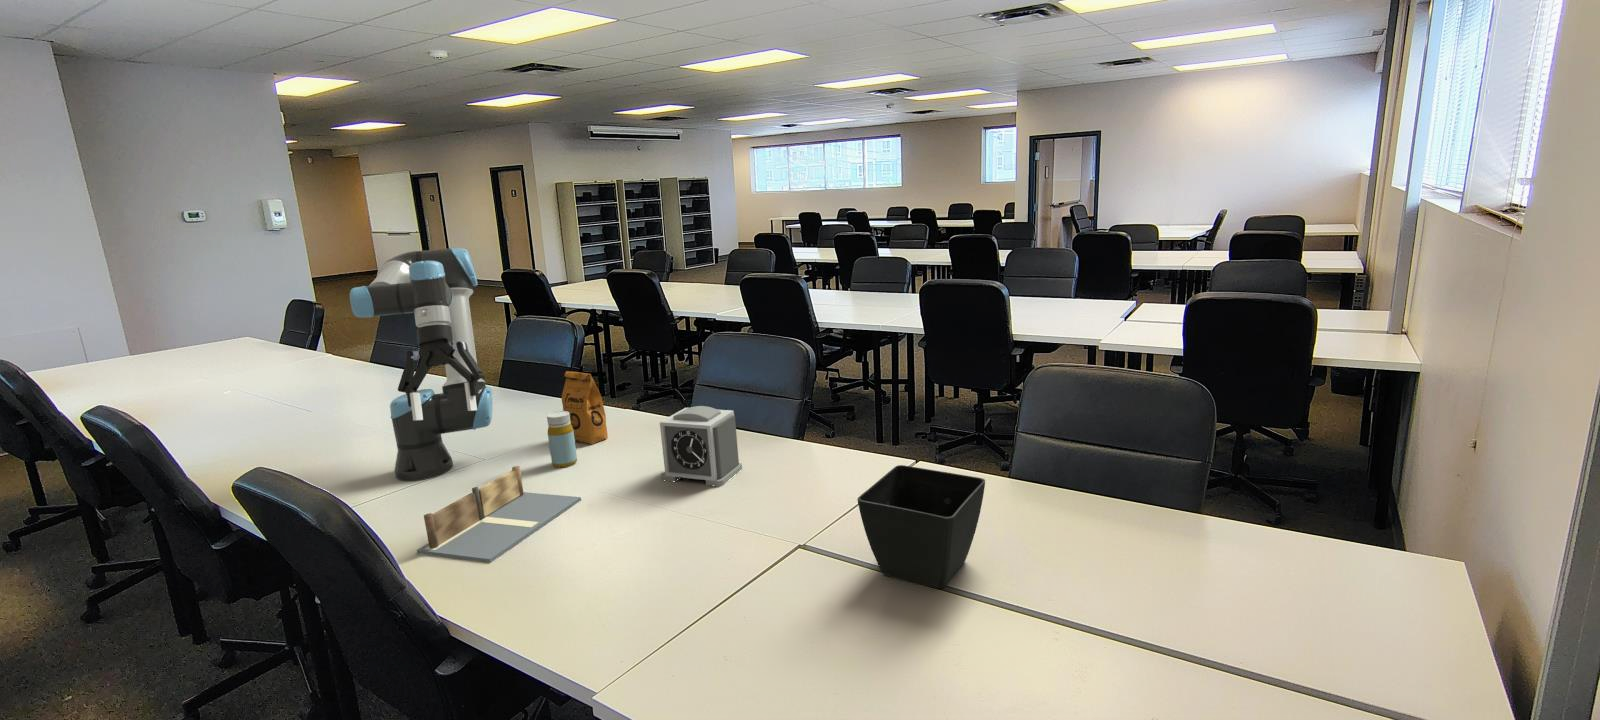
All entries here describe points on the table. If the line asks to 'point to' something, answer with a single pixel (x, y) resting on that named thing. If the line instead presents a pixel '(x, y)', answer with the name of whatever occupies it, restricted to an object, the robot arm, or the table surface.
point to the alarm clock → (700, 445)
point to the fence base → (453, 518)
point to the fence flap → (501, 491)
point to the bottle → (561, 439)
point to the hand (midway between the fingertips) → (445, 415)
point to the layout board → (503, 527)
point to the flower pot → (921, 522)
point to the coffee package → (584, 407)
